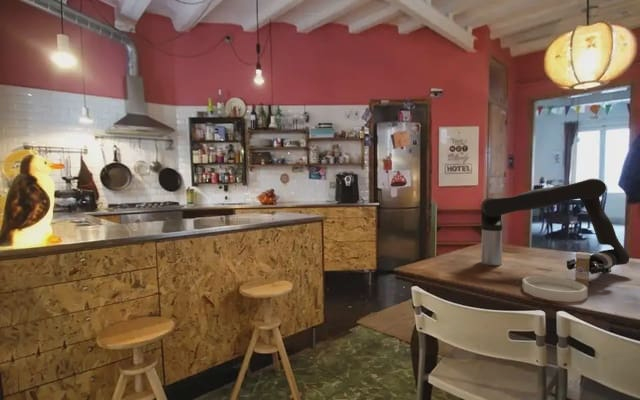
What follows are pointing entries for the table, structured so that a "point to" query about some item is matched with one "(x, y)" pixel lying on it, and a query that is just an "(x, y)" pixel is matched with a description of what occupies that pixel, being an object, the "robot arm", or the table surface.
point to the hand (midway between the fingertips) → (580, 269)
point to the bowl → (554, 288)
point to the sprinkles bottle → (582, 268)
